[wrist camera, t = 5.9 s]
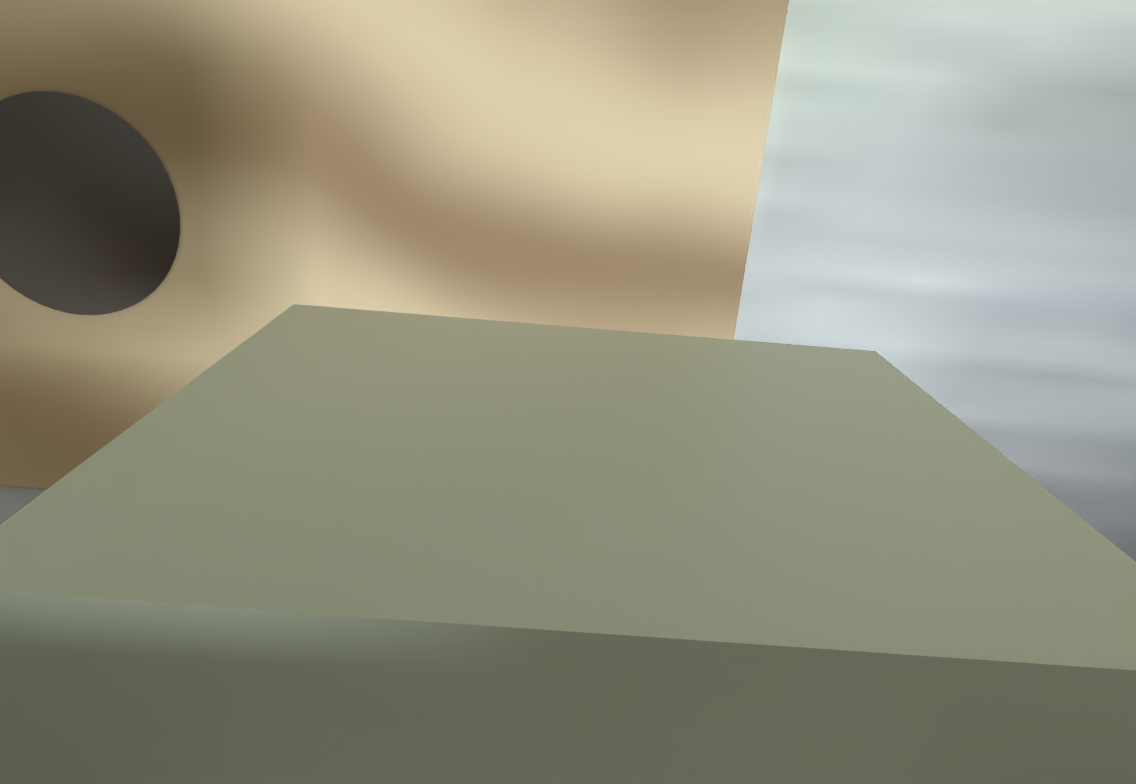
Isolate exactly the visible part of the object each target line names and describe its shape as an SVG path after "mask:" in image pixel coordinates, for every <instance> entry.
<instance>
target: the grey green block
mask: <svg viewBox="0 0 1136 784" xmlns="http://www.w3.org/2000/svg"><path fill="white" fill-rule="evenodd" d="M0 784H1136V562H1135V561H1134V560H1133V559H1131V558H1130V557H1129V556H1128V555H1127V554H1125V553H1124V552H1123V551H1122V550H1120V549H1119V548H1118V547H1117V546H1115V545H1114V544H1113V543H1112V542H1110V541H1109V540H1108V539H1107V538H1106V537H1104V536H1103V535H1102V534H1101V533H1099V532H1098V531H1097V530H1096V529H1094V528H1093V527H1092V526H1091V525H1089V524H1088V523H1087V522H1086V521H1084V520H1083V519H1082V518H1081V517H1080V516H1078V515H1077V514H1076V513H1075V512H1073V511H1072V510H1071V509H1070V508H1068V507H1067V506H1066V505H1065V504H1063V503H1062V502H1061V501H1060V500H1058V499H1057V498H1056V497H1055V496H1054V495H1052V494H1051V493H1050V492H1049V491H1047V490H1046V489H1045V488H1044V487H1042V486H1041V485H1040V484H1039V483H1037V482H1036V481H1035V480H1034V479H1033V478H1031V477H1030V476H1029V475H1028V474H1026V473H1025V472H1024V471H1023V470H1021V469H1020V468H1019V467H1018V466H1016V465H1015V464H1014V463H1013V462H1011V461H1010V460H1009V459H1008V458H1007V457H1005V456H1004V455H1003V454H1002V453H1000V452H999V451H998V450H997V449H995V448H994V447H993V446H992V445H990V444H989V443H988V442H987V441H986V440H984V439H983V438H982V437H981V436H979V435H978V434H977V433H976V432H974V431H973V430H972V429H971V428H969V427H968V426H967V425H966V424H964V423H963V422H962V421H961V420H960V419H958V418H957V417H956V416H955V415H953V414H952V413H951V412H950V411H948V410H947V409H946V408H945V407H943V406H942V405H941V404H940V403H939V402H937V401H936V400H935V399H934V398H932V397H931V396H930V395H929V394H927V393H926V392H925V391H924V390H922V389H921V388H920V387H919V386H917V385H916V384H915V383H914V382H913V381H911V380H910V379H909V378H908V377H906V376H905V375H904V374H903V373H901V372H900V371H899V370H898V369H896V368H895V367H894V366H893V365H891V364H890V363H889V362H888V361H887V360H885V359H884V358H883V357H882V356H880V355H879V354H878V353H877V352H875V351H865V350H853V349H841V348H828V347H816V346H804V345H791V344H779V343H767V342H754V341H742V340H730V339H718V338H705V337H693V336H681V335H668V334H656V333H644V332H631V331H619V330H607V329H594V328H582V327H570V326H557V325H545V324H533V323H521V322H508V321H496V320H484V319H471V318H459V317H447V316H434V315H422V314H410V313H397V312H385V311H373V310H361V309H348V308H336V307H324V306H311V305H299V304H293V305H292V306H291V307H289V308H288V309H287V310H285V311H284V312H283V313H281V314H280V315H279V316H277V317H276V318H275V319H273V320H272V321H271V322H269V323H268V324H267V325H265V326H264V327H263V328H261V329H260V330H259V331H257V332H256V333H255V334H253V335H252V336H251V337H249V338H248V339H247V340H245V341H244V342H243V343H241V344H240V345H239V346H237V347H236V348H235V349H233V350H232V351H231V352H229V353H228V354H227V355H225V356H224V357H223V358H221V359H220V360H219V361H217V362H216V363H215V364H213V365H212V366H211V367H209V368H208V369H207V370H205V371H204V372H203V373H201V374H200V375H199V376H197V377H196V378H195V379H193V380H192V381H191V382H189V383H188V384H187V385H185V386H184V387H183V388H181V389H180V390H179V391H177V392H176V393H175V394H173V395H172V396H171V397H169V398H168V399H167V400H165V401H164V402H163V403H161V404H160V405H159V406H157V407H156V408H155V409H153V410H152V411H151V412H149V413H148V414H147V415H145V416H144V417H143V418H141V419H140V420H139V421H137V422H136V423H135V424H133V425H132V426H131V427H129V428H128V429H127V430H125V431H124V432H123V433H121V434H120V435H119V436H117V437H116V438H115V439H113V440H112V441H111V442H109V443H108V444H107V445H105V446H104V447H103V448H101V449H100V450H99V451H97V452H96V453H95V454H93V455H92V456H91V457H89V458H88V459H87V460H85V461H84V462H83V463H81V464H80V465H79V466H77V467H76V468H75V469H73V470H72V471H71V472H69V473H68V474H67V475H65V476H64V477H63V478H61V479H60V480H59V481H57V482H56V483H55V484H53V485H52V486H51V487H49V488H48V489H47V490H45V491H44V492H43V493H41V494H40V495H39V496H37V497H36V498H35V499H33V500H32V501H31V502H29V503H28V504H27V505H25V506H24V507H23V508H21V509H20V510H19V511H17V512H16V513H15V514H13V515H12V516H11V517H9V518H8V519H7V520H5V521H4V522H3V523H1V524H0Z"/></svg>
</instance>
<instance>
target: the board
mask: <svg viewBox="0 0 1136 784" xmlns="http://www.w3.org/2000/svg"><path fill="white" fill-rule="evenodd" d="M788 1H789V0H0V486H13V487H28V488H42V489H48V488H49V487H51V486H52V485H53V484H55V483H56V482H57V481H59V480H60V479H61V478H63V477H64V476H65V475H67V474H68V473H69V472H71V471H72V470H73V469H75V468H76V467H77V466H79V465H80V464H81V463H83V462H84V461H85V460H87V459H88V458H89V457H91V456H92V455H93V454H95V453H96V452H97V451H99V450H100V449H101V448H103V447H104V446H105V445H107V444H108V443H109V442H111V441H112V440H113V439H115V438H116V437H117V436H119V435H120V434H121V433H123V432H124V431H125V430H127V429H128V428H129V427H131V426H132V425H133V424H135V423H136V422H137V421H139V420H140V419H141V418H143V417H144V416H145V415H147V414H148V413H149V412H151V411H152V410H153V409H155V408H156V407H157V406H159V405H160V404H161V403H163V402H164V401H165V400H167V399H168V398H169V397H171V396H172V395H173V394H175V393H176V392H177V391H179V390H180V389H181V388H183V387H184V386H185V385H187V384H188V383H189V382H191V381H192V380H193V379H195V378H196V377H197V376H199V375H200V374H201V373H203V372H204V371H205V370H207V369H208V368H209V367H211V366H212V365H213V364H215V363H216V362H217V361H219V360H220V359H221V358H223V357H224V356H225V355H227V354H228V353H229V352H231V351H232V350H233V349H235V348H236V347H237V346H239V345H240V344H241V343H243V342H244V341H245V340H247V339H248V338H249V337H251V336H252V335H253V334H255V333H256V332H257V331H259V330H260V329H261V328H263V327H264V326H265V325H267V324H268V323H269V322H271V321H272V320H273V319H275V318H276V317H277V316H279V315H280V314H281V313H283V312H284V311H285V310H287V309H288V308H289V307H291V306H292V305H293V304H299V305H311V306H324V307H336V308H348V309H361V310H373V311H385V312H397V313H410V314H422V315H434V316H447V317H459V318H471V319H484V320H496V321H508V322H521V323H533V324H545V325H557V326H570V327H582V328H594V329H607V330H619V331H631V332H644V333H656V334H668V335H681V336H693V337H705V338H718V339H730V340H733V339H734V333H735V327H736V321H737V314H738V308H739V302H740V296H741V290H742V284H743V278H744V272H745V265H746V259H747V253H748V247H749V241H750V235H751V229H752V222H753V216H754V210H755V204H756V198H757V192H758V186H759V179H760V173H761V167H762V161H763V155H764V149H765V143H766V136H767V130H768V124H769V118H770V112H771V106H772V100H773V93H774V87H775V81H776V75H777V69H778V63H779V57H780V50H781V44H782V38H783V32H784V26H785V20H786V14H787V7H788Z"/></svg>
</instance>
